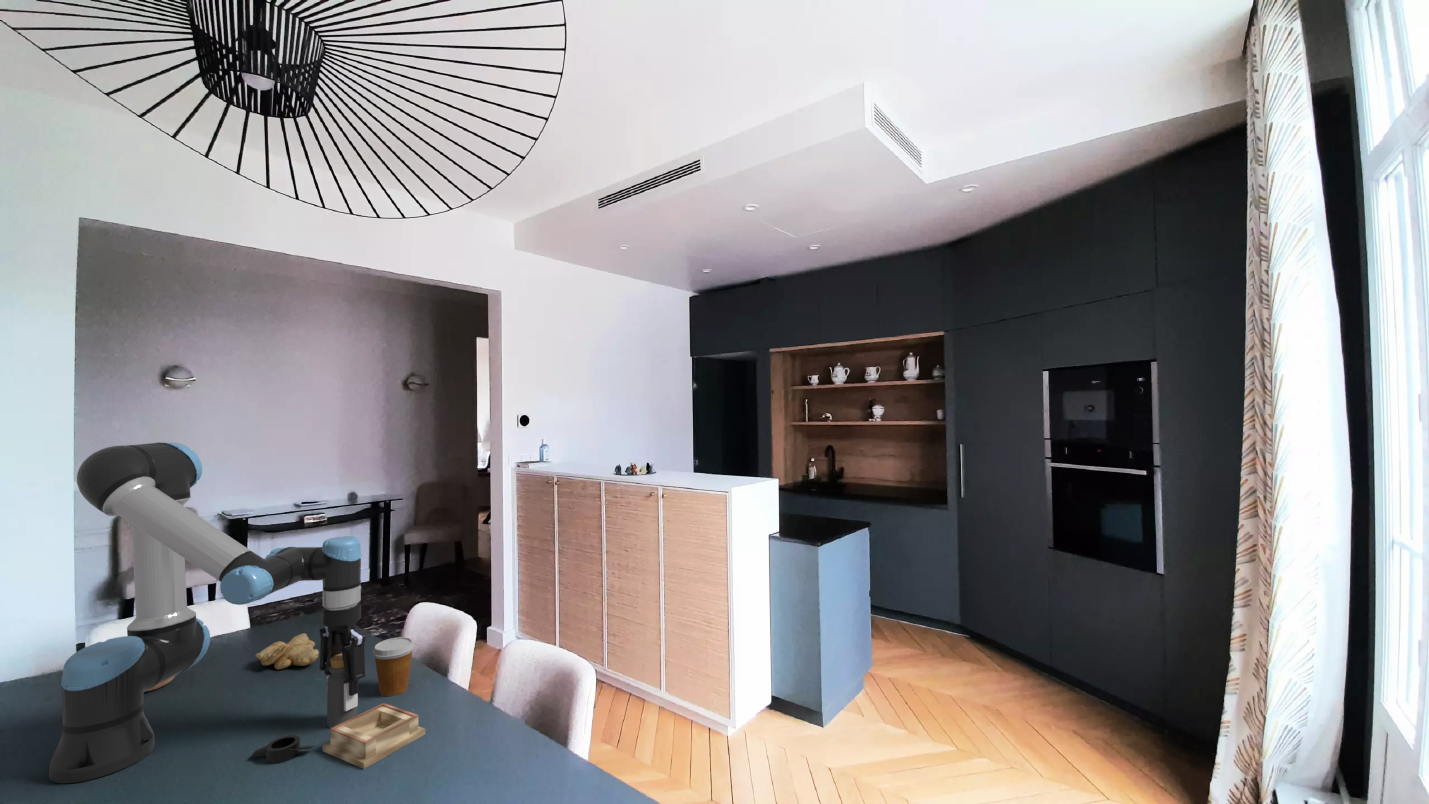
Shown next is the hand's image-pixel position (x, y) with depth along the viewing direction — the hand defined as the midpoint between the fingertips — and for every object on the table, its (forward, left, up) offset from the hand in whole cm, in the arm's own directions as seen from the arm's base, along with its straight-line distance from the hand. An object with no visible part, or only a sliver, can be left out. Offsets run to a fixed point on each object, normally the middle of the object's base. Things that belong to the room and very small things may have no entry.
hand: (342, 704), depth 137 cm
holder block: (+15, -2, -4) cm, 16 cm away
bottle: (0, 0, -4) cm, 4 cm away
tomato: (-61, -12, -4) cm, 62 cm away
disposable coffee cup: (-3, +15, -4) cm, 16 cm away
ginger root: (-45, +12, -4) cm, 47 cm away
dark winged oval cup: (+2, -14, -4) cm, 14 cm away
